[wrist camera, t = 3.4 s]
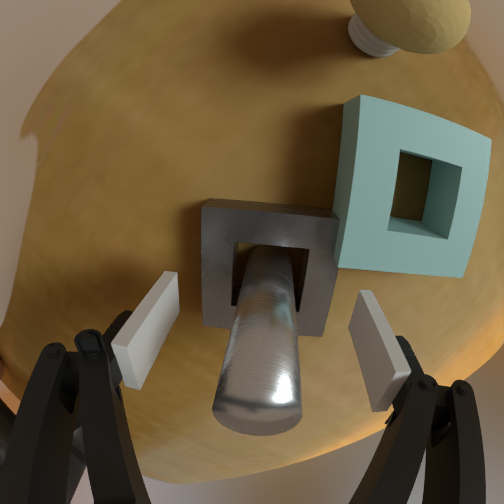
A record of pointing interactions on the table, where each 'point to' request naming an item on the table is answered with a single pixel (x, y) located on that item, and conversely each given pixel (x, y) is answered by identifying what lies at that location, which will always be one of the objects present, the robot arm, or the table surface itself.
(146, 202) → the table surface
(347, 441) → the table surface
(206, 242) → the mount
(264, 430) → the pin
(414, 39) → the light bulb
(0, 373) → the egg
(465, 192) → the socket
